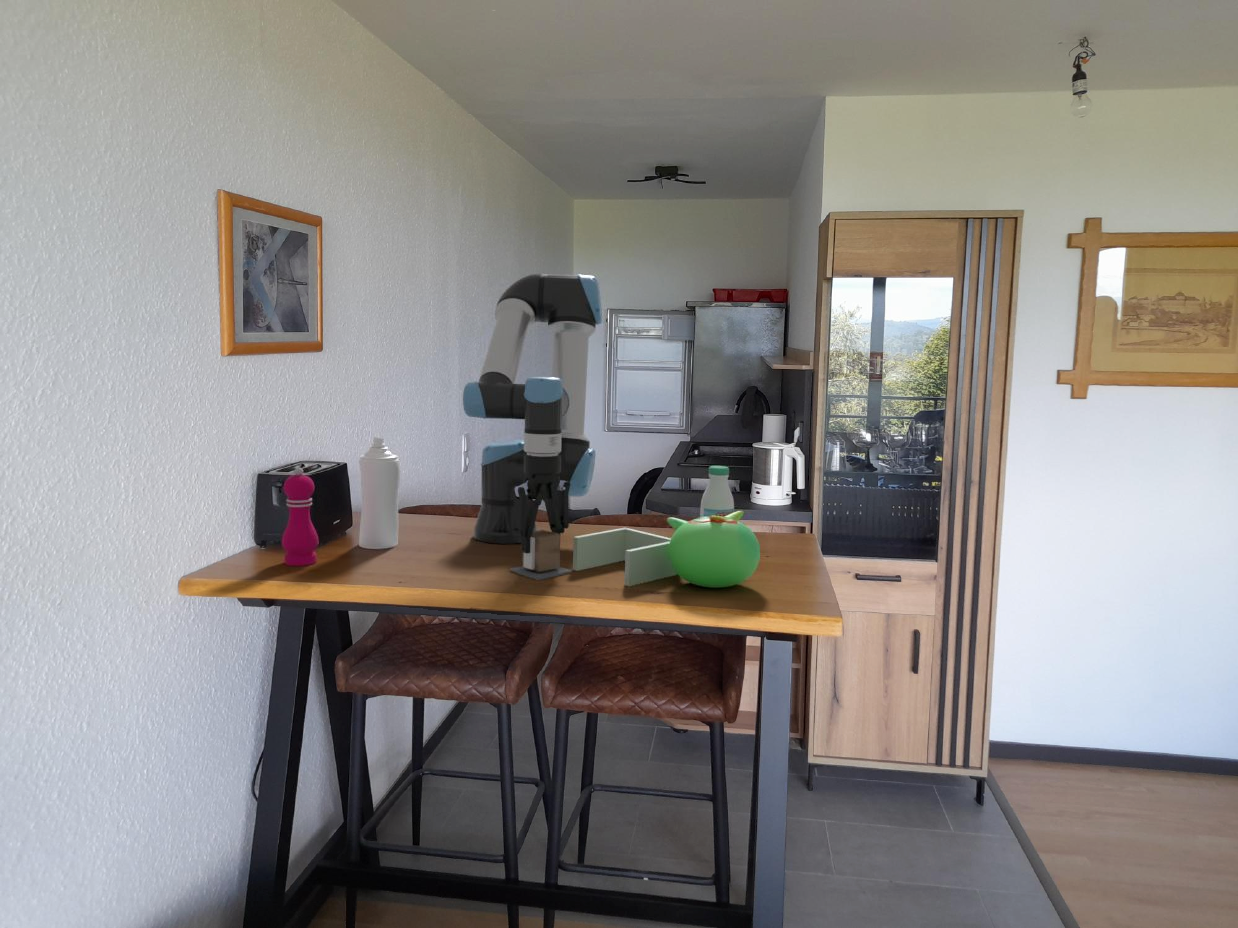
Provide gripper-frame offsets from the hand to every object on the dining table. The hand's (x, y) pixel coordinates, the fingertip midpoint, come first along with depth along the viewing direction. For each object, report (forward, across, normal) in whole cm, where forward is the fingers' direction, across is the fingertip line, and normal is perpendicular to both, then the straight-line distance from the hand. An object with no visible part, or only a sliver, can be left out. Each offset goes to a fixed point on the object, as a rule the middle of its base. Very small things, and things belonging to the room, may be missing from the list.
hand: (540, 565), depth 182 cm
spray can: (+2, -14, +40) cm, 42 cm away
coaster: (+1, 0, 0) cm, 1 cm away
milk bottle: (+2, +42, -12) cm, 44 cm away
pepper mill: (+2, -34, +37) cm, 50 cm away
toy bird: (+2, +20, -29) cm, 35 cm away
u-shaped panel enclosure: (+1, +13, -11) cm, 17 cm away
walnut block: (0, 0, 0) cm, 0 cm away
